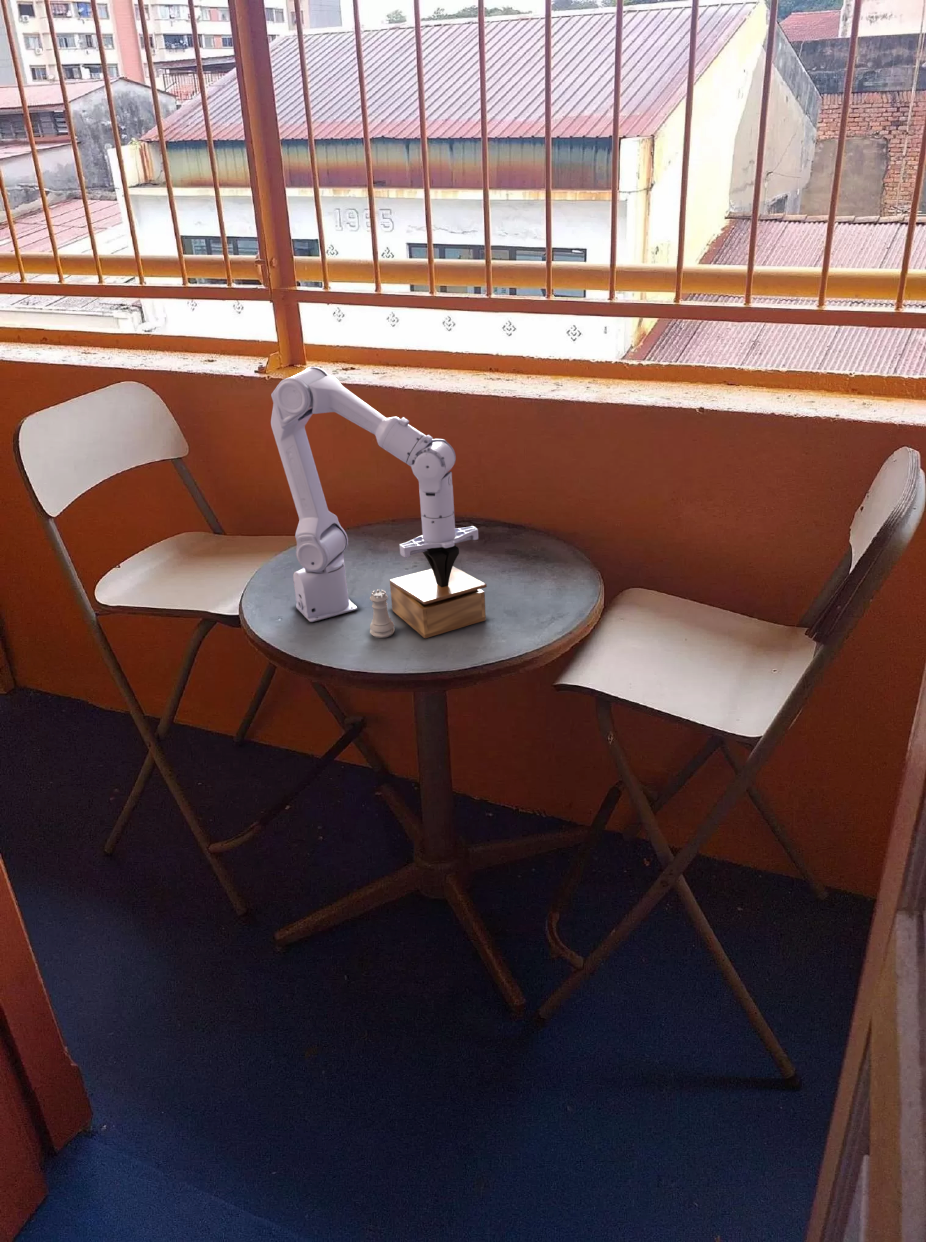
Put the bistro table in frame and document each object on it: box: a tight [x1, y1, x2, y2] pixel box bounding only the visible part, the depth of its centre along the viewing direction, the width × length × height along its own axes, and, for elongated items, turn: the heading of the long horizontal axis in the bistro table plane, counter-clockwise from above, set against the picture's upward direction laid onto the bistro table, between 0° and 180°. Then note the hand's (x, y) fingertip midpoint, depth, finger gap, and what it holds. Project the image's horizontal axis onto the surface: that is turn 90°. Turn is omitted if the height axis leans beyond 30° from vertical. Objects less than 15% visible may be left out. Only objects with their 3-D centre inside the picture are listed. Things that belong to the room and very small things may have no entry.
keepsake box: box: [389, 582, 487, 639], centre depth 168 cm, size 13×12×6 cm
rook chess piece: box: [369, 589, 396, 639], centre depth 162 cm, size 4×4×8 cm
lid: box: [389, 566, 488, 605], centre depth 166 cm, size 14×12×1 cm
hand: (442, 584), depth 164 cm, fingers closed, pressing on lid
